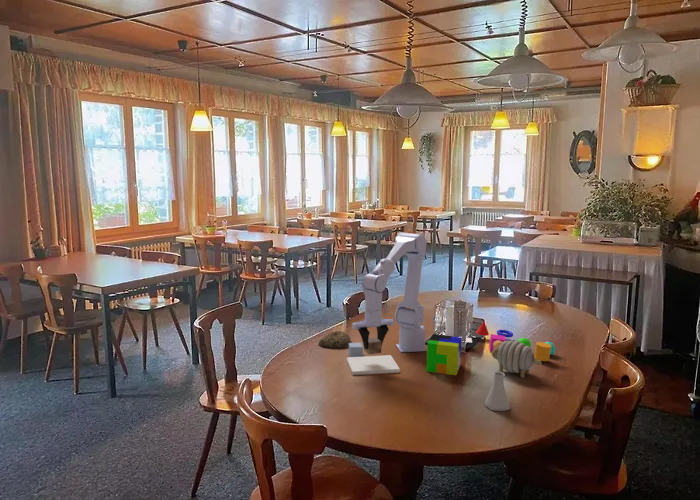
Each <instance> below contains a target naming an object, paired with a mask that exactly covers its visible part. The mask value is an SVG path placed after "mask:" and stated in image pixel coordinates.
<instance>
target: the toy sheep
mask: <svg viewBox="0 0 700 500" xmlns="http://www.w3.org/2000/svg"><path fill="white" fill-rule="evenodd" d="M491 356H492V358H493V359H495V360H497V362H498V364H499V367H498V369H499V370H498V372H502V373H504V369H505V370H506V371H507V370H508V372H510V373H511V374H512V373H515V374H520V378H521V379H524V378H525V376H526V375H529V374H530V369H531V368H532V367H533V366H534V365H537V366H541V365H542V363H543V361H540V360H537V359H535V357H534V352H533V350H532V347H531V348H530V347H529V346H526V345H525V344H524V343H520V342H519V341H518V340H515V341H514V340H508V341H507V340H506V341H504V342H502V343H501V345H499V346H497V347H495V348H494V349H493V351H492V352H491Z"/></svg>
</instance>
